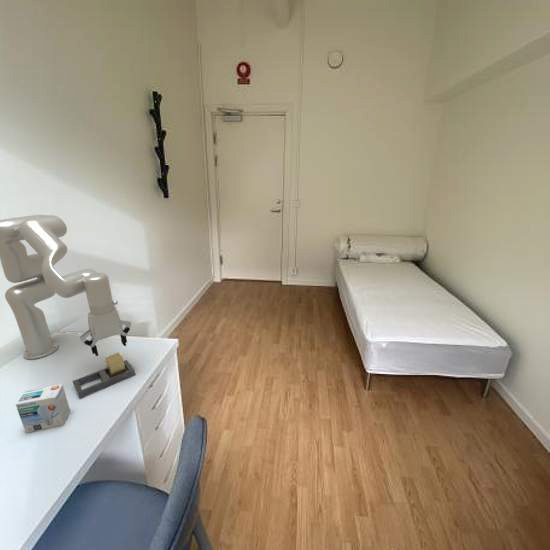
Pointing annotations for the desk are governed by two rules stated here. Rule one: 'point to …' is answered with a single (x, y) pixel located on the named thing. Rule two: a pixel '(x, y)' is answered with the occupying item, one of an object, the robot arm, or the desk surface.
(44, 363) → the desk surface
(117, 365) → the tan rectangular block
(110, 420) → the desk surface
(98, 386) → the grey rectangular frame
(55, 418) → the light bulb box
